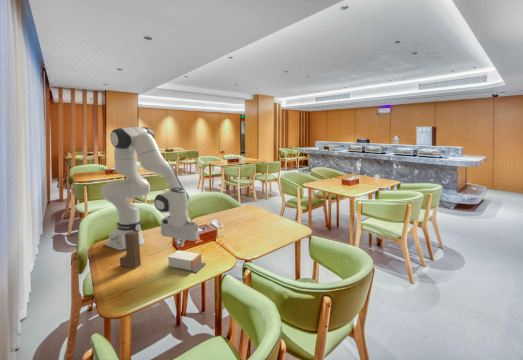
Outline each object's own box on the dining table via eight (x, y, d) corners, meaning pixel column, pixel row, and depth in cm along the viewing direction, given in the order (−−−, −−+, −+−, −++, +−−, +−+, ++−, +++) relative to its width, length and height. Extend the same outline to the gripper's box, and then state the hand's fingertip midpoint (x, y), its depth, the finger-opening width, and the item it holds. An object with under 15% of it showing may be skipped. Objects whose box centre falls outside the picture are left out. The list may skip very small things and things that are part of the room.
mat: (170, 267, 138) (170, 266, 138) (180, 259, 147) (180, 258, 147) (196, 273, 134) (196, 271, 134) (205, 264, 142) (205, 263, 142)
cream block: (168, 256, 138) (192, 261, 134) (177, 250, 146) (201, 254, 141) (168, 265, 139) (193, 270, 135) (178, 258, 146) (201, 263, 142)
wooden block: (120, 266, 139) (116, 232, 136) (126, 262, 144) (123, 229, 140) (135, 268, 137) (132, 234, 133) (141, 264, 141) (138, 231, 138)
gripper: (201, 220, 137) (201, 246, 139) (166, 215, 143) (167, 240, 145) (194, 224, 131) (195, 251, 133) (158, 219, 137) (159, 245, 140)
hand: (180, 246), depth 140 cm, fingers closed
